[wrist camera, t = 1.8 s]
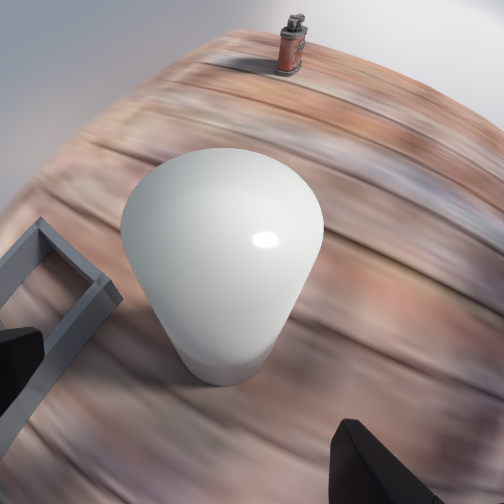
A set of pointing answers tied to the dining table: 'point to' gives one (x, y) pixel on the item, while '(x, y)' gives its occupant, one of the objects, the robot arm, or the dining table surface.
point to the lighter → (291, 46)
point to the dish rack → (69, 328)
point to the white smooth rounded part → (222, 255)
